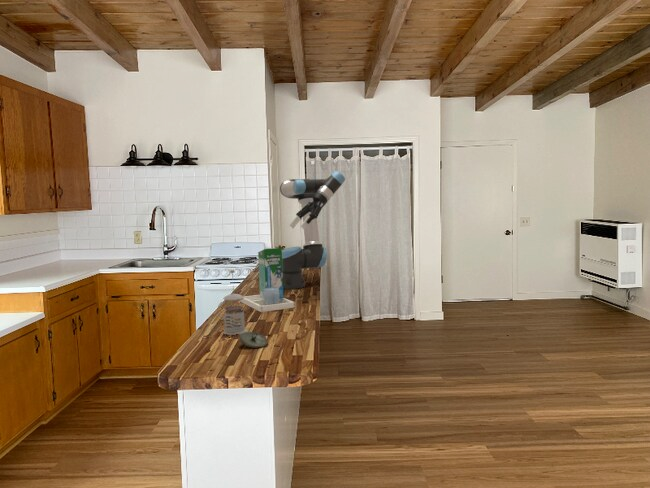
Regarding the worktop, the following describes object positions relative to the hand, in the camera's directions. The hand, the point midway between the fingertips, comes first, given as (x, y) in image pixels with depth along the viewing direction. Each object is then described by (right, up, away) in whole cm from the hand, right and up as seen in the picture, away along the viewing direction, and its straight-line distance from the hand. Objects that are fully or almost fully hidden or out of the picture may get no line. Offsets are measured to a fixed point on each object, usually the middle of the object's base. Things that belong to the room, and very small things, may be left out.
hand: (296, 227), depth 264 cm
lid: (-12, -45, -74) cm, 87 cm away
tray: (-14, -39, -8) cm, 42 cm away
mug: (-10, -38, -15) cm, 43 cm away
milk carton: (-12, -35, -4) cm, 38 cm away
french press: (-23, -44, -54) cm, 73 cm away
